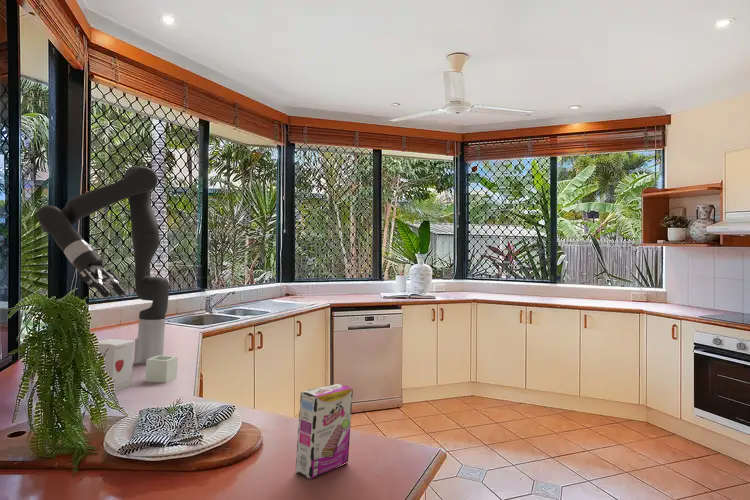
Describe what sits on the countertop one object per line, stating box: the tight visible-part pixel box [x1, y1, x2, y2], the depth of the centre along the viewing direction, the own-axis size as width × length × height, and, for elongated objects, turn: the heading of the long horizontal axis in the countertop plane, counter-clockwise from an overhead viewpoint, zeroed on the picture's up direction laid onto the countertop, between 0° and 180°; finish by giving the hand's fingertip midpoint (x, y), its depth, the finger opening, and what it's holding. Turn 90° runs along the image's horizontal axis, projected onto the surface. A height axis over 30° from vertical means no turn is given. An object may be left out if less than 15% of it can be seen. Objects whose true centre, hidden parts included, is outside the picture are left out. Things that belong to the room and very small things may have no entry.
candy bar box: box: [295, 383, 354, 480], centre depth 100 cm, size 11×5×16 cm, turn 141°
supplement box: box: [98, 338, 135, 392], centre depth 147 cm, size 9×9×15 cm
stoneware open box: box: [144, 355, 179, 384], centre depth 160 cm, size 7×7×8 cm
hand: (115, 294), depth 155 cm, fingers open, 7 cm apart
